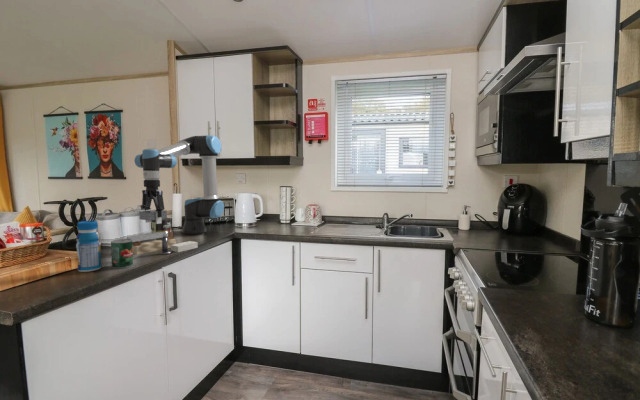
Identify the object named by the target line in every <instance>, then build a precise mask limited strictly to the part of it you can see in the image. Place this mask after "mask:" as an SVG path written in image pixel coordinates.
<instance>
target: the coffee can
mask: <svg viewBox="0 0 640 400" xmlns="http://www.w3.org/2000/svg"><path fill="white" fill-rule="evenodd" d="M150 223H151V233H157V232H162V231H168V232H172V218H171V217H167V218H164V219H162V223H160V224H156V220H151V222H150ZM156 240H162V238H156V239H151V241H156Z"/></svg>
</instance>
